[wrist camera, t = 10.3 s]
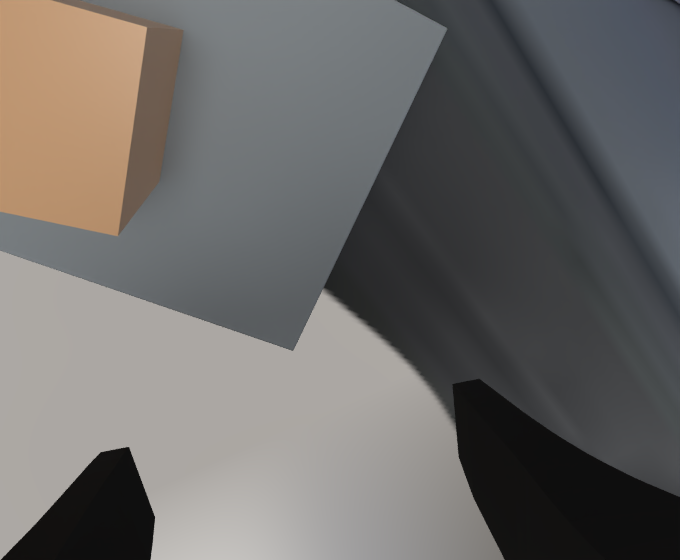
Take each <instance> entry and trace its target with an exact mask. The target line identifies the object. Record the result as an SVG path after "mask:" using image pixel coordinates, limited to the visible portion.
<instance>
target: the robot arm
mask: <svg viewBox="0 0 680 560" xmlns="http://www.w3.org/2000/svg"><path fill="white" fill-rule="evenodd" d="M675 1H676V2H678V3H680V0H675ZM453 396H454V407H455V419H456V431H457V442H458V454H459V459H460V462H461V464H462V467H463V470H464V473H465V476H466V478H467V481H468V484H469V487H470V489H471V492H472V495H473V497H474V500H475V502H476V504H477V506H478V508H479V510H480V512H481V514H482V516H483V517H484V520H485V522H486V524H487V525H488V528H489V529H490V532H491V533H492V535H493V537H494V539H495V541H496V543H497V545H498V547H499V549H500V551H501V553H502V555H503V557H504V559H505V560H680V497H678V496H676V495H673V494H671V493H669V492H666V491H664V490H661V489H659V488H657V487H654V486H652V485H650V484H647V483H645V482H643V481H641V480H638V479H636V478H634V477H632V476H630V475H628V474H626V473H624V472H622V471H620V470H618V469H616V468H614V467H612V466H610V465H608V464H606V463H604V462H602V461H600V460H598V459H596V458H594V457H593V456H591V455H589V454H587V453H585V452H584V451H582V450H580V449H579V448H577V447H575V446H574V445H572V444H570V443H569V442H567V441H566V440H564V439H562V438H561V437H559V436H557V435H556V434H554V433H553V432H551V431H550V430H548V429H547V428H546V427H544V426H543V425H541V424H540V423H538V422H537V421H535V420H534V419H532V418H531V417H530V416H528V415H527V414H525V413H524V412H523V411H521V410H520V409H519V408H517V407H516V406H515V405H513V404H512V403H511V402H509V401H508V400H507V399H505V398H504V397H503V396H501V395H500V394H499V393H497V392H496V391H495V390H493V389H492V388H491V387H490V386H488V385H487V384H485V383H484V382H483V381H481V380H480V379H476V380H471V381H466V382H461V383H456V384H453ZM154 523H155V516H154V513H153V511H152V508H151V505H150V503H149V500H148V497H147V495H146V492H145V489H144V487H143V484H142V481H141V478H140V476H139V473H138V470H137V468H136V465H135V462H134V460H133V457H132V454H131V451H130V449H129V447H126V448H121V449H116V450H110V451H105V452H101V453H100V454H99V455H98V456H97V457H96V458H95V459H94V460H93V461H92V462H91V463H90V464H89V465H88V466H87V467H86V469H85V470H84V471H83V472H82V473H81V474H80V475H79V476H78V478H77V479H76V480H75V481H74V482H73V483H72V484H71V485H70V487H69V488H68V489H67V490H66V491H65V492H64V494H63V495H62V496H61V497H60V498H59V499H58V500H57V501H56V502H55V503H54V505H53V506H52V507H51V508H50V509H49V510H48V511H47V512H46V513H45V514H44V515H43V517H42V518H41V519H40V520H39V521H38V522H37V523H36V524H35V525H34V526H33V527H32V528H31V530H30V531H28V533H26V535H25V536H24V537H23V538H22V539H21V540H20V541H19V542H18V543H17V544H16V545H15V546H14V547H13V548H12V549H11V550H10V551H9V552H8V553H7V554H6V555H5V556H4V557H3V558H2V559H1V560H150V559H151V551H152V543H153V533H154Z"/></svg>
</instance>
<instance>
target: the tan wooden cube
mask: <svg viewBox="0 0 680 560" xmlns="http://www.w3.org/2000/svg"><path fill="white" fill-rule="evenodd" d="M183 31H184V30H182V29H179V28H175V27H172V26H168V25H165V24H161V23H158V22H154V21H151V20H147V19H144V18H140V17H137V16H133V15H130V14H126V13H123V12H119V11H116V10H112V9H108V8H105V7H101V6H98V5H94V4H91V3H87V2H84V1H80V0H0V212H4V213H9V214H14V215H18V216H23V217H28V218H33V219H38V220H42V221H47V222H52V223H57V224H61V225H66V226H71V227H76V228H81V229H85V230H90V231H95V232H100V233H104V234H109V235H114V236H119V234H120V233H121V232H122V230H123V229H124V228H125V226H126V225H127V224H128V222H129V221H130V220H131V218H132V217H133V216H134V214H135V213H136V212H137V210H138V209H139V208H140V206H141V205H142V204H143V202H144V201H145V200H146V199H147V197H148V196H149V195H150V193H151V192H152V191H153V189H154V188H155V187H156V185H157V184H158V183H159V180H160V174H161V168H162V161H163V155H164V149H165V143H166V137H167V130H168V124H169V118H170V112H171V105H172V99H173V93H174V87H175V80H176V74H177V68H178V62H179V56H180V49H181V43H182V37H183Z"/></svg>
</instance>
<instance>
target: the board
mask: <svg viewBox="0 0 680 560" xmlns="http://www.w3.org/2000/svg"><path fill="white" fill-rule="evenodd" d="M80 1H84V2H87V3H91V4H94V5H98V6H101V7H105V8H108V9H112V10H116V11H119V12H123V13H126V14H130V15H133V16H137V17H140V18H144V19H147V20H151V21H154V22H158V23H161V24H165V25H168V26H172V27H175V28H179V29H182V30H184V31H183V37H182V43H181V49H180V56H179V62H178V68H177V74H176V80H175V87H174V93H173V99H172V105H171V112H170V118H169V124H168V130H167V137H166V143H165V149H164V155H163V161H162V168H161V174H160V180H159V183H158V184H157V185H156V187H155V188H154V189H153V191H152V192H151V193H150V195H149V196H148V197H147V199H146V200H145V201H144V202H143V204H142V205H141V206H140V208H139V209H138V210H137V212H136V213H135V214H134V216H133V217H132V218H131V220H130V221H129V222H128V224H127V225H126V226H125V228H124V229H123V230H122V232H121V233H120V234H119V236H114V235H109V234H104V233H100V232H95V231H90V230H85V229H81V228H76V227H71V226H66V225H61V224H57V223H52V222H47V221H42V220H38V219H33V218H28V217H23V216H18V215H14V214H9V213H4V212H0V251H3V252H6V253H9V254H12V255H15V256H18V257H21V258H23V259H26V260H29V261H32V262H35V263H38V264H41V265H44V266H47V267H50V268H53V269H56V270H59V271H61V272H64V273H67V274H70V275H73V276H76V277H79V278H82V279H85V280H88V281H91V282H94V283H97V284H99V285H102V286H105V287H108V288H111V289H114V290H117V291H120V292H123V293H126V294H129V295H132V296H134V297H137V298H140V299H143V300H146V301H149V302H152V303H155V304H158V305H161V306H164V307H167V308H169V309H172V310H175V311H178V312H182V313H184V314H187V315H190V316H193V317H196V318H199V319H202V320H205V321H208V322H211V323H213V324H216V325H219V326H222V327H225V328H228V329H231V330H234V331H237V332H240V333H243V334H246V335H248V336H251V337H254V338H257V339H260V340H263V341H266V342H269V343H272V344H275V345H278V346H280V347H283V348H286V349H289V350H292V351H293V350H294V348H295V346H296V344H297V342H298V340H299V337H300V335H301V333H302V331H303V329H304V327H305V325H306V323H307V321H308V319H309V317H310V315H311V312H312V310H313V308H314V306H315V304H316V302H317V300H318V298H319V296H320V294H321V292H322V289H323V287H324V285H325V283H326V281H327V279H328V277H329V275H330V273H331V271H332V269H333V266H334V264H335V262H336V260H337V258H338V256H339V254H340V252H341V250H342V248H343V246H344V244H345V241H346V239H347V237H348V235H349V233H350V231H351V229H352V227H353V225H354V223H355V221H356V218H357V216H358V214H359V212H360V210H361V208H362V206H363V204H364V202H365V200H366V198H367V195H368V193H369V191H370V189H371V187H372V185H373V183H374V181H375V179H376V177H377V175H378V173H379V170H380V168H381V166H382V164H383V162H384V160H385V158H386V156H387V154H388V152H389V150H390V147H391V145H392V143H393V141H394V139H395V137H396V135H397V133H398V131H399V129H400V127H401V124H402V122H403V120H404V118H405V116H406V114H407V112H408V110H409V108H410V106H411V104H412V102H413V99H414V97H415V95H416V93H417V91H418V89H419V87H420V85H421V83H422V81H423V79H424V76H425V74H426V72H427V70H428V68H429V66H430V64H431V62H432V60H433V58H434V56H435V54H436V51H437V49H438V47H439V45H440V43H441V41H442V39H443V37H444V35H445V33H446V31H447V28H446V27H444V26H442V25H440V24H438V23H436V22H435V21H433V20H431V19H429V18H427V17H425V16H423V15H422V14H420V13H418V12H416V11H414V10H412V9H410V8H408V7H407V6H405V5H403V4H401V3H399V2H397V1H395V0H80Z"/></svg>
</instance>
